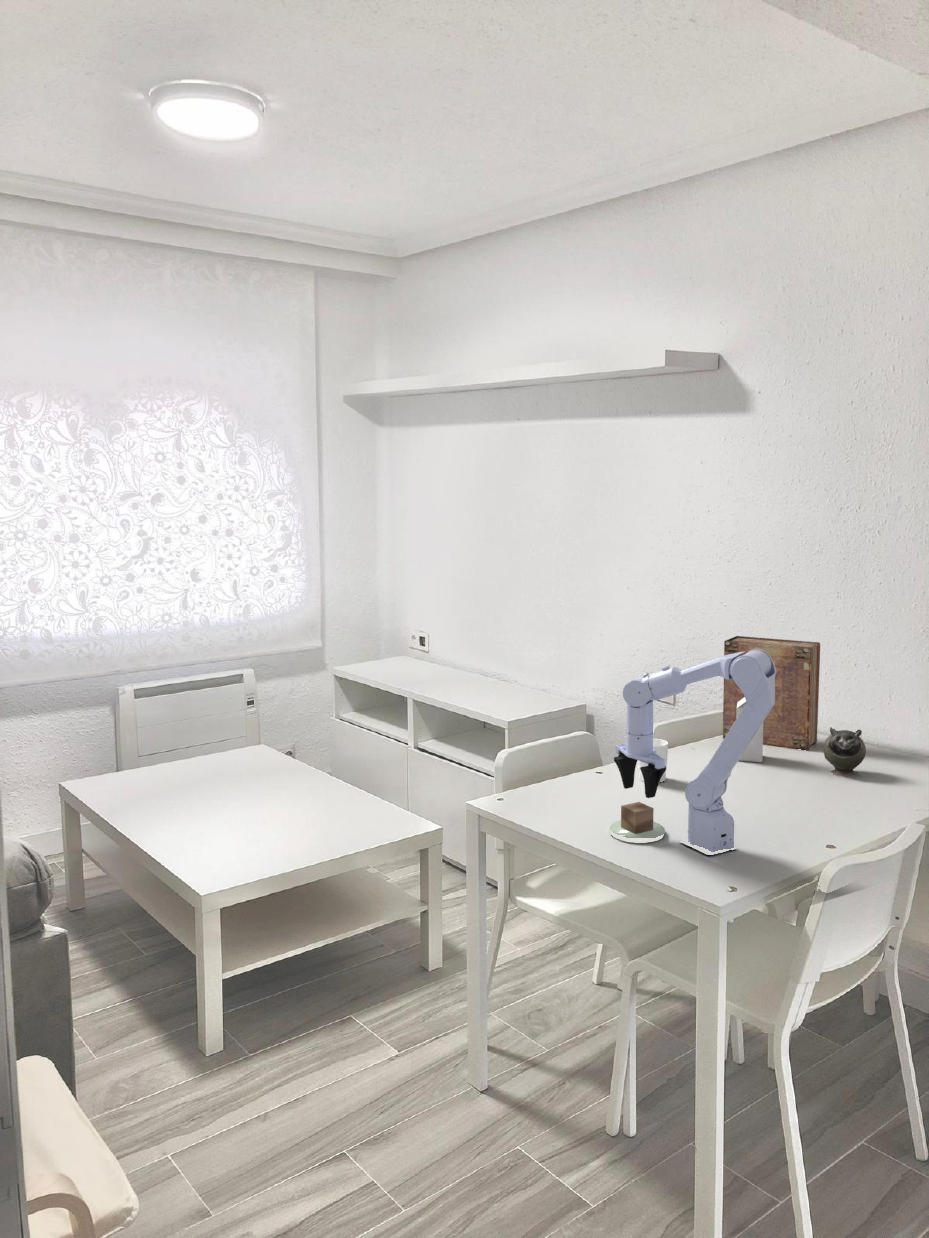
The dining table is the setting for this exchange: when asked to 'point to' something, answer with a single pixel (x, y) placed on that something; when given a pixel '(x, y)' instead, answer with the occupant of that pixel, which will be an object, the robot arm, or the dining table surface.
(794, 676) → the book
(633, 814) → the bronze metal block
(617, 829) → the pale green domed disc
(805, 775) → the dining table surface
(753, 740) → the milk carton
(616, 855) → the dining table surface
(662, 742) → the white cup
